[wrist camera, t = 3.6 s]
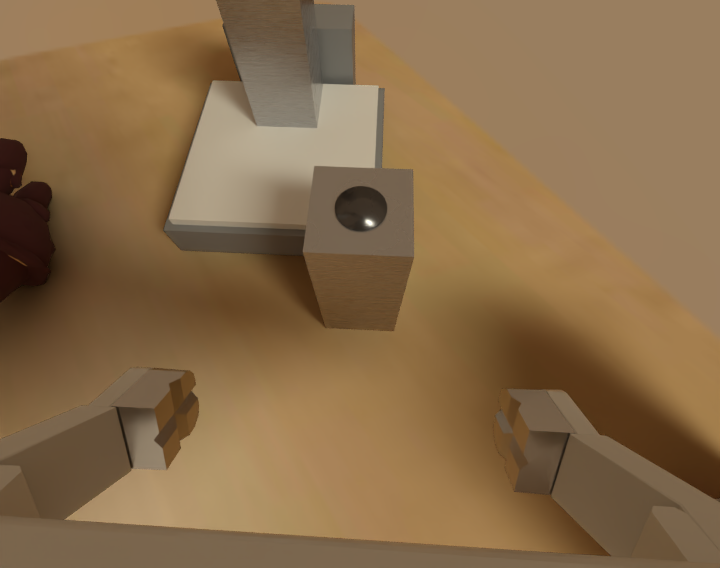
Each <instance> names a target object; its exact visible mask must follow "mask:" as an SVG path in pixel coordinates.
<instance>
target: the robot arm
mask: <svg viewBox="0 0 720 568" xmlns="http://www.w3.org/2000/svg"><path fill="white" fill-rule="evenodd" d="M195 385H196V382H195V377H194V373H192V372H191V371H189V370H176V369H163V368H149V367H133V368H130V369H129V370H128V371H126V372H125V373H124V374H123V375H122V376H121V377H120V378H119V379H117V380H116V381H115V382H114V383H113V384H112V385H111V386H110V387H108V388H107V389H106V390H105V391H104V392H103V393H102V394H100V395H99V396H98V397H97V398H96V399H95V400H94V401H93V402H91V403H90V404H89V405H88V406H87V405H81V406H79V407H76V408H74V409H72V410H69V411H67V412H64V413H62V414H60V415H57V416H55V417H52V418H50V419H48V420H45V421H43V422H40V423H38V424H36V425H33V426H31V427H28V428H26V429H24V430H21V431H19V432H16V433H14V434H12V435H9V436H7V437H4V438H2V439H0V568H720V502H718V501H717V500H715V499H713V498H711V497H710V496H708V495H706V494H705V493H703V492H701V491H700V490H698V489H696V488H694V487H693V486H691V485H689V484H688V483H686V482H684V481H683V480H681V479H679V478H678V477H676V476H674V475H672V474H671V473H669V472H667V471H666V470H664V469H662V468H661V467H659V466H657V465H655V464H654V463H652V462H650V461H649V460H647V459H645V458H644V457H642V456H640V455H639V454H637V453H635V452H633V451H632V450H630V449H628V448H627V447H625V446H623V445H622V444H620V443H618V442H616V441H615V440H613V439H611V438H610V437H608V436H604V435H599V433H598V432H597V431H596V430H595V428H594V427H593V426H592V424H591V423H590V422H589V421H588V419H587V418H586V417H585V416H584V414H583V413H582V412H581V410H580V409H579V408H578V407H577V405H576V404H575V403H574V402H573V400H572V399H571V398H570V396H569V395H568V394H567V393H566V392H565V391H563V390H546V389H542V390H532V389H509V388H502V390H501V392H500V394H499V399H498V402H499V404H500V407H501V410H500V411H499V412H498V413H497V414H496V415H495V419H494V425H493V432H494V441H495V445H496V448H497V450H498V453H499V454H500V455H501V456H502V457H504V458H505V459H506V464H505V470H506V473H507V475H508V478H509V480H510V483H511V485H512V488H513V490H514V492H523V493H534V494H545V495H551V497H552V498H553V499H554V500H555V501H556V502H557V503H558V504H559V505H560V506H561V507H562V508H563V509H564V510H565V511H566V512H567V513H568V514H569V515H570V516H571V517H572V518H573V519H574V520H575V521H576V522H577V523H578V524H579V525H580V526H581V527H582V528H583V529H584V530H585V531H586V532H587V533H588V534H589V535H590V536H591V537H592V538H593V539H594V540H595V541H596V542H597V543H598V544H599V545H600V546H601V547H602V548H604V549H605V550H606V551H607V552H608V553H609V554H610V555H611V556H599V555H583V554H568V553H553V552H537V551H522V550H507V549H492V548H477V547H463V546H448V545H433V544H419V543H404V542H389V541H375V540H360V539H345V538H329V537H314V536H299V535H284V534H269V533H254V532H239V531H224V530H209V529H194V528H179V527H164V526H149V525H134V524H119V523H104V522H89V521H74V520H64V519H66V518H67V517H68V516H70V515H71V514H72V513H74V512H75V511H77V510H78V509H79V508H81V507H82V506H83V505H85V504H86V503H88V502H89V501H90V500H92V499H93V498H95V497H96V496H97V495H99V494H100V493H101V492H103V491H104V490H106V489H107V488H108V487H110V486H111V485H112V484H114V483H115V482H117V481H118V480H119V479H121V478H122V477H123V476H125V475H126V474H128V473H129V472H130V471H131V469H154V470H167V469H168V467H169V466H170V464H171V463H172V461H173V460H174V458H175V456H176V455H177V453H178V452H179V450H180V449H181V446H180V440H182V439H184V438H185V437H187V436H189V435H190V433H191V432H192V430H193V429H194V427H195V424H196V421H197V418H198V414H199V402H198V398H197V397H196V396H195V394H194V393H193V392H192V389H193V388H194V386H195Z"/></svg>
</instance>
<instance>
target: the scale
mask: <svg viewBox="0 0 720 568" xmlns="http://www.w3.org/2000/svg"><path fill="white" fill-rule="evenodd" d="M314 9H315V18H316V27H317V37H318V46H319V55H320V65H321V74H322V83H323V89H322V97H321V104H320V111H319V119H318V126H317V128H298V127H269V126H257V124H256V121H255V118H254V115H253V112H252V109H251V106H250V103H249V100H248V97H247V94H246V91H245V87H244V84H243V81H242V78H241V75H240V72H239V69H238V66H237V63H236V60H235V57H234V54H233V51H232V48H231V44H230V41H229V38H228V35H227V32H226V29H225V26H224V23H223V29H224V32H225V35H226V38H227V41H228V44H229V47H230V50H231V53H232V56H233V59H234V62H235V65H236V68H237V72H238V75H239V78H240V81H217V80H213V81H212V83H211V84H210V87H209V90H208V93H207V96H206V99H205V102H204V106H203V109H202V112H201V115H200V118H199V121H198V124H197V127H196V130H195V133H194V137H193V140H192V143H191V146H190V149H189V152H188V155H187V158H186V161H185V164H184V168H183V171H182V174H181V177H180V180H179V183H178V186H177V189H176V192H175V195H174V198H173V202H172V205H171V208H170V211H169V214H168V217H167V220H166V223H165V226H164V229H163V231H164V232H165V233H166V234H167V235H168V236H169V237H170V238H171V240H172V241H173V242H174V243H175V244H176V245H177V246H178V247H179V248H180V249H181V250H185V251H208V252H231V253H254V254H276V255H299V256H304V255H303V246H304V239H305V231H306V224H307V216H308V209H309V201H310V194H311V186H312V179H313V171H314V166H331V167H358V168H382V148H383V119H384V91H385V88H378V86H374V85H356V79H355V19H354V5H328V4H314Z"/></svg>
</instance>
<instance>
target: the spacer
mask: <svg viewBox="0 0 720 568" xmlns="http://www.w3.org/2000/svg"><path fill="white" fill-rule="evenodd" d="M303 255H304V258H305V261H306V265H307V268H308V271H309V275H310V278H311V281H312V284H313V288H314V291H315V294H316V298H317V301H318V304H319V308H320V311H321V314H322V317H323V321H324V324H325V327H326V328H339V329H359V330H380V331H394V328H395V325H396V321H397V317H398V314H399V310H400V306H401V303H402V299H403V295H404V292H405V288H406V284H407V281H408V277H409V273H410V270H411V266H412V263H413V259H414V208H413V170H411V169H385V168H358V167H331V166H314V171H313V179H312V186H311V194H310V201H309V209H308V216H307V224H306V231H305V239H304V246H303Z"/></svg>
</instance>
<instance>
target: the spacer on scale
mask: <svg viewBox="0 0 720 568" xmlns="http://www.w3.org/2000/svg"><path fill="white" fill-rule="evenodd" d="M216 1H217V4H218V8H219V10H220V14H221V17H222V20H223V23H224V26H225V29H226V32H227V35H228V38H229V41H230V44H231V48H232V51H233V54H234V57H235V60H236V63H237V66H238V69H239V72H240V75H241V78H242V81H243V84H244V87H245V91H246V94H247V97H248V100H249V103H250V106H251V109H252V112H253V115H254V118H255V121H256V124H257V126H269V127H298V128H317V126H318V119H319V111H320V104H321V97H322V89H323V83H322V74H321V65H320V55H319V46H318V37H317V27H316V18H315V9H314V0H216Z"/></svg>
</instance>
